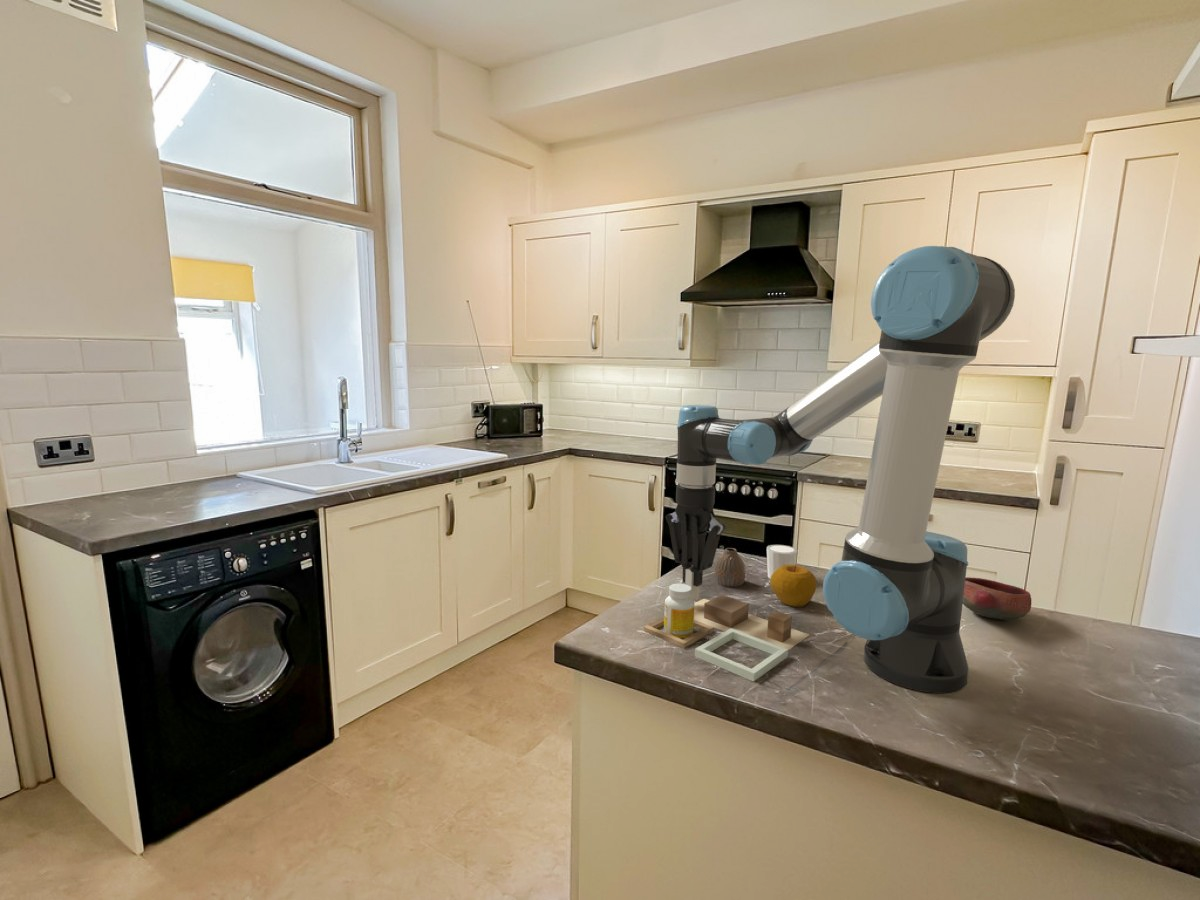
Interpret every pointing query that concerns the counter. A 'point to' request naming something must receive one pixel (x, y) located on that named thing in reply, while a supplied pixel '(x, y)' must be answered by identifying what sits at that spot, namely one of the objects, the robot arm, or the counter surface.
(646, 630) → the oak collar
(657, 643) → the counter surface
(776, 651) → the tray
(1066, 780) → the counter surface
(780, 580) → the apple
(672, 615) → the supplement bottle
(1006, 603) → the bowl
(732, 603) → the walnut block
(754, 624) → the board
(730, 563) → the vase
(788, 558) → the white cylinder
